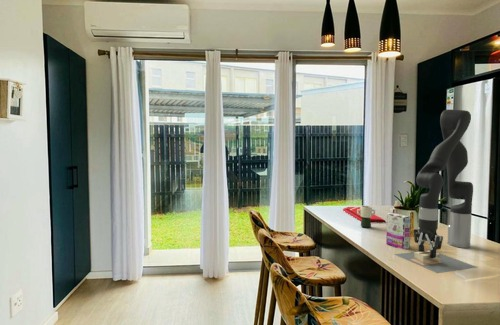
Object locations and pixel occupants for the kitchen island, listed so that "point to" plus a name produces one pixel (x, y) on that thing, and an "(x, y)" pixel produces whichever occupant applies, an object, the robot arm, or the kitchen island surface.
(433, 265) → the rubber mat
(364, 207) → the character mug
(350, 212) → the dish drying mat
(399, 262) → the kitchen island surface
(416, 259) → the maple deck block
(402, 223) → the candy bar box
